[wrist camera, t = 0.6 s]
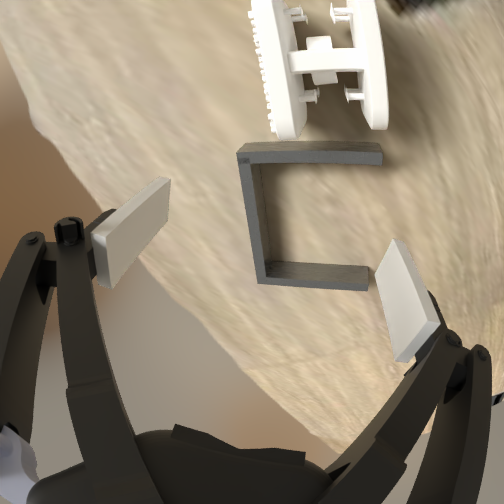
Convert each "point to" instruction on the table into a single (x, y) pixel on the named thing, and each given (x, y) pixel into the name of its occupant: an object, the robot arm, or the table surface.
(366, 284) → the bracket
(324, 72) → the cable organizer
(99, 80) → the table surface
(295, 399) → the table surface
